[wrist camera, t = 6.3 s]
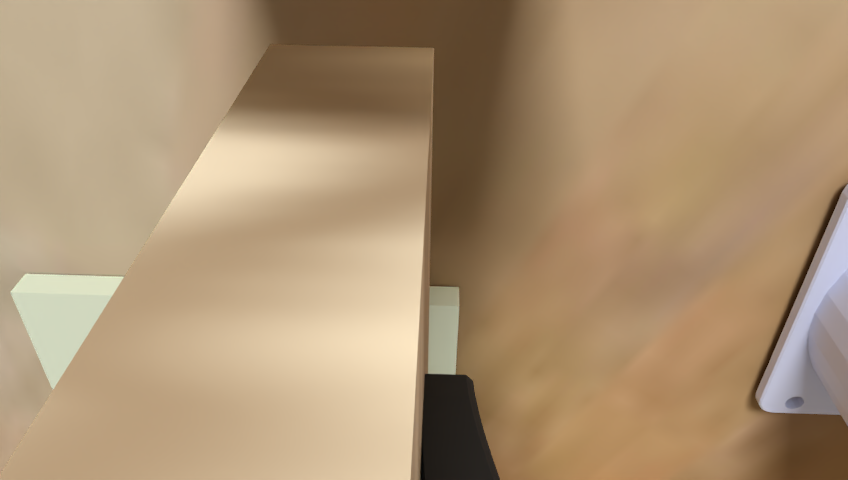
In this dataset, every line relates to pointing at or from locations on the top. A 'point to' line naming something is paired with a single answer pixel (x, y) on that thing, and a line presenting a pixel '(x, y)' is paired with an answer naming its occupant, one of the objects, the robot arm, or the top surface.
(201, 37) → the top surface
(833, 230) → the robot arm
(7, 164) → the top surface
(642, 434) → the top surface
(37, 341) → the rest board
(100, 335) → the tan wooden block
